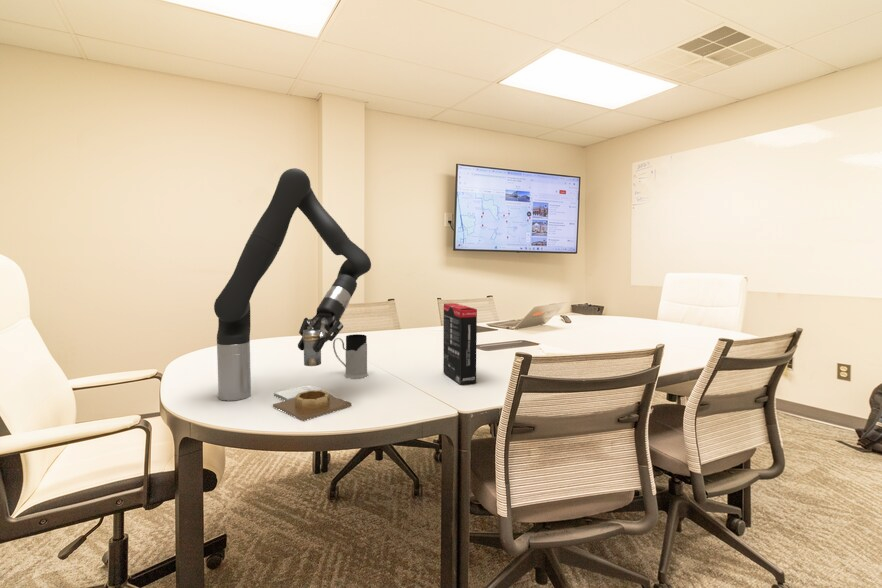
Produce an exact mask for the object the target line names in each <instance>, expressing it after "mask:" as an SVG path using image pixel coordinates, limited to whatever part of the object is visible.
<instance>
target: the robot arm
mask: <svg viewBox="0 0 882 588" xmlns="http://www.w3.org/2000/svg"><path fill="white" fill-rule="evenodd" d="M311 186H312V184H311V180H310V178H309V175H307V173H306V172H305V171H303V170H302V169H300V168H297V167H296V168H294V167H293V168H289V169H286V170H285V171H283V173H282V174H281V175H280V177H279V180H278V182H277V185H276V188H275V191H274V193H273V195H272V198H271V200H270V203H269V204H268V206H267V208H266V209H265V211H264V212H263V214H262V215H261V217H260V219H259V220H258V221H257V224H256V225H255V226H254V228H253V230H252V232H251V233H250V235H249V238H248V239H247V241H246V243H245V245H244V248H243V250H242V252H241V254H240V256H239V258H238V261H237V263H236V266H235V268H234V271H233V273H232V275H231V276H230V279H229V280H228V282H227V283H226V284H225V286H224V287H223V289H222V290H221V292H220V294H218V295H217V297H216V299H215V301H214V303H213V310H214V313H215V315H216V317H217V318H218V319H217V320H218V325H217V326H218V327H217V334H216V350H217V351H216V352H217V353H216V354H217V355H216V356H217V387H218V390H217V391H218V399H219V400H221V401H225V400H227V401H239V400H240V401H241V400H244V399H246V398H249V397H251V395H252V386H251V385H252V384H251V383H252V379H251V378H252V377H251V375H252V373H251V343H250V342H251V339H250V338H251V298H252V295H253V293H254V290H255V289H256V287H257V285H258V283H259V282H260V281H261V279H262V277H263V276H265V274H266V273H267V271H268V269H269V268H270V267H271V265H272V264H273V262H274V260H275V259H276V257H277V255H278V253H279V251H280V249H281V247H282V245H283V243H284V242H285V241H284V240H285V238H286V235H287V233H288V229H289V226H290V223H291V220H292V218H293V215H294V214H295V212H296V210H297V208H298V209H299V211H301V212H302V213H303V215H304V216H305V217H306V218H307V219H308V221H309V222H310V223H311V225H312V227H313V228H314V230H316V232H317V234H318V235H319V237H321V239H322V240H323V242H324V244H326V246H327V247H328V248H329V249H330V251H331V252H332V254H333V255H335V256H343V257H344V258H345V259H346V260H344V262H343V263H342V264H341V266H340V268H339V271H338V273H337V277H336V279H335V280H334V281H333V284H331V287H330V288H329V290H327V292H326V293H325V295H324V297H323V298H322V300H321V302H320V303H319V304H318V306H317V308H316V314H315V316H313V317H312V318H308V317H304V318H303V321H302V324H301V326H300V328H299V331H298V334H300V336H302V337H301V339H299V340H300V341H299V342H298V343H297V348H298V350H300V351H304V342H303V330H306V329H320V333H321V334H320V338H318V340H317V341H316V343H315V345H314V347H313V350H314V351H315V352H319V351H320V350H321V351H322V348H323V347H324V345H325V343H327V342H328V341H330V342H332V341H334V340H335V339H336V338H337V336H338V334H340V332H341V331H342V330H343V328H344V325H343V323H342V322H341V321H340V320H341V318H342V316H343V315H344V313H345V311H346V309H347V308H348V306H349V304H350V301H351V299H352V297H353V296H354V293H355V291H356V290H357V286H358V283H357V280H358V279H359V278H360V277H361V276H363V275H365V274H366V273H368V272H369V271H370V270H371V269H372V262H371V258H370V257H369V256H368V254H367V253H366V252H365V251H364V250H363V249H362V248H361V247H359V246H358V245H357V244H356V243H354V241H352V240H351V239H350V237H348V235H347V234H346V232H345V231H344V230H343V229H342V227H341V226H340V225H339V223H338V222H337V221H336V220H335V219H334V218H333V217H332V216H331V215H330V214H329V212H328V210H326V209H325V207H323V205H322V204H321V203H320V201H319V200H318V198H317V196H316V195H315V193H314V191H313V188H312V187H311Z"/></svg>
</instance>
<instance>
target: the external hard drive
mask: <svg viewBox="0 0 882 588" xmlns="http://www.w3.org/2000/svg"><path fill="white" fill-rule="evenodd" d="M309 390H323V389H322V388H320V387H316V386H314V385H311V384H308V385H304V386H298V387H294V388H289V389H286V390H282V391H277V392H274V393H273V397H275V396H276V397H275V398H277V397H278V398H277V399H279V398H281V399H280V400H282V399H283V400H282V401H284V400H285V401H287V400H290V399H294V398H295V397H296V395H297V394H298V393H301V392H305V391H309Z"/></svg>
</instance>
